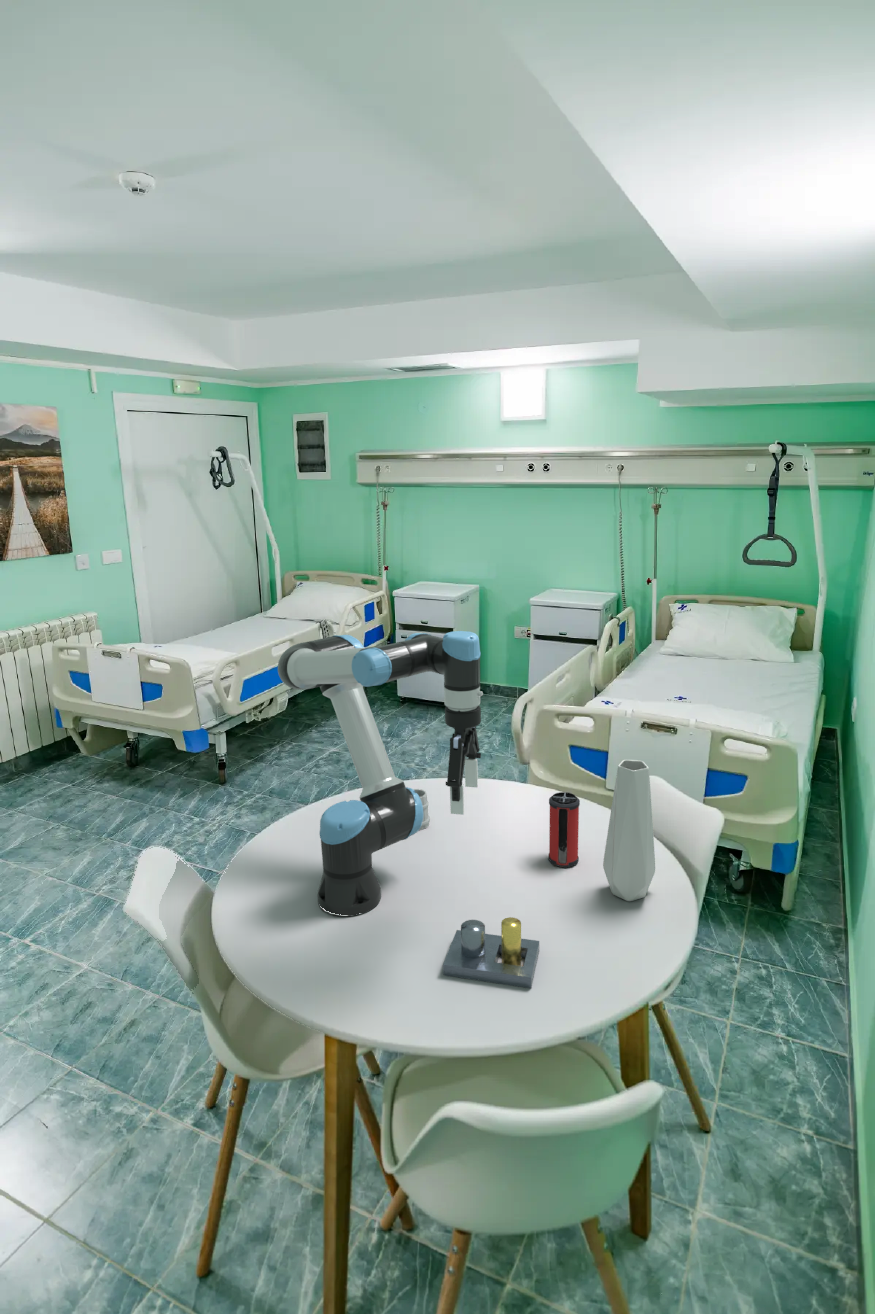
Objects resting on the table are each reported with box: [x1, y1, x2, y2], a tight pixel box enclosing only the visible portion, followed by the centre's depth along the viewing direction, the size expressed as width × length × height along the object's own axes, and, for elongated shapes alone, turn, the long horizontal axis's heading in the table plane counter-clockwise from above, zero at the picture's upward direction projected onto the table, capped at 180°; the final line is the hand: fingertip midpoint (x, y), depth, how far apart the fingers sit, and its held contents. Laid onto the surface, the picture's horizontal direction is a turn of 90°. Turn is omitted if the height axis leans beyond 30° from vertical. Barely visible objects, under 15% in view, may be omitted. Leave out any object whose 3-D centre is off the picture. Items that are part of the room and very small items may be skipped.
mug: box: [412, 788, 431, 831], centre depth 217 cm, size 8×12×12 cm, turn 75°
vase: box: [602, 759, 656, 902], centre depth 177 cm, size 12×12×33 cm
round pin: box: [500, 916, 522, 966], centre depth 155 cm, size 4×4×10 cm
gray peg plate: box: [442, 919, 540, 989], centre depth 156 cm, size 18×12×8 cm, turn 75°
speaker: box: [548, 791, 581, 868], centre depth 194 cm, size 8×8×18 cm
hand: (464, 799), depth 163 cm, fingers open, 13 cm apart
